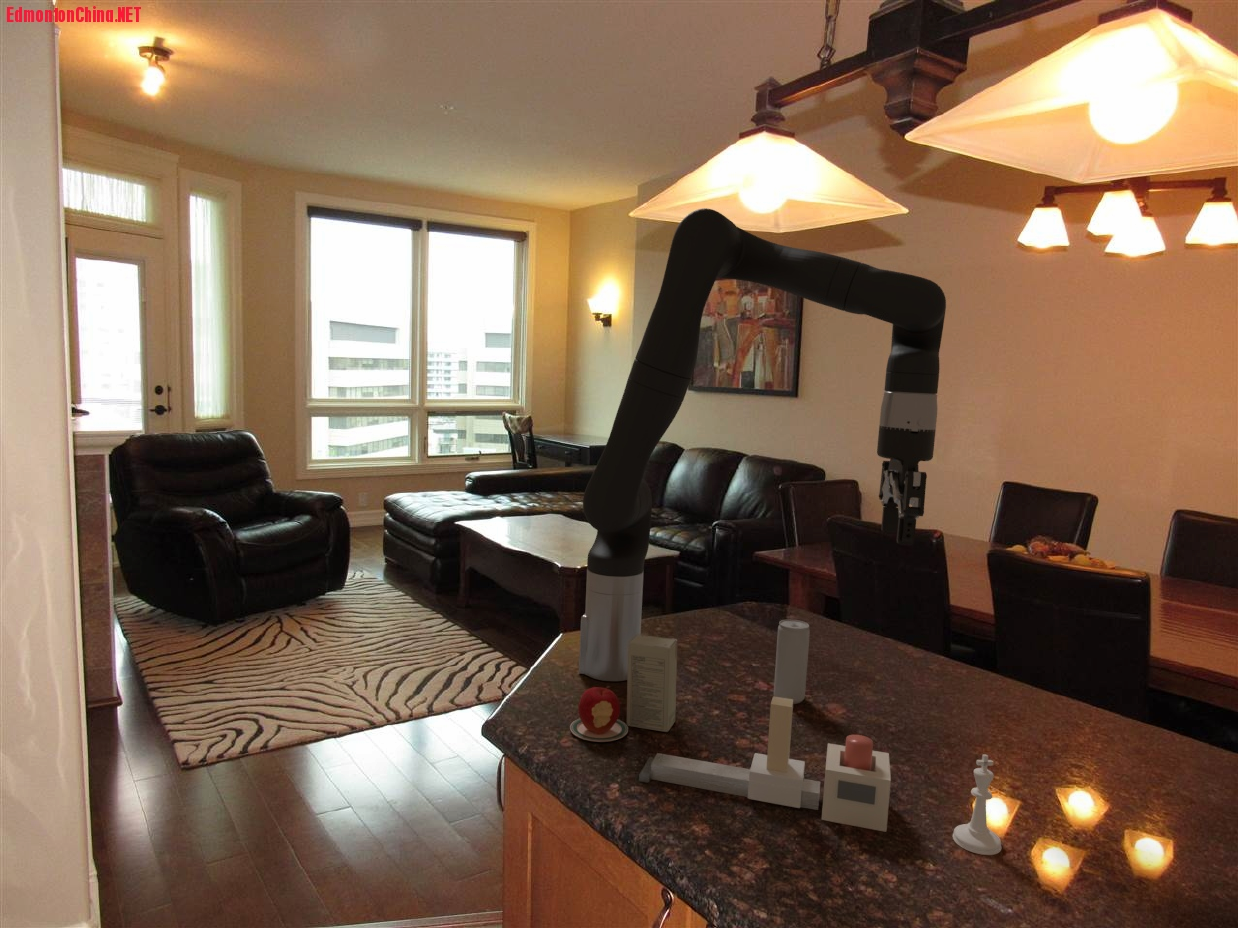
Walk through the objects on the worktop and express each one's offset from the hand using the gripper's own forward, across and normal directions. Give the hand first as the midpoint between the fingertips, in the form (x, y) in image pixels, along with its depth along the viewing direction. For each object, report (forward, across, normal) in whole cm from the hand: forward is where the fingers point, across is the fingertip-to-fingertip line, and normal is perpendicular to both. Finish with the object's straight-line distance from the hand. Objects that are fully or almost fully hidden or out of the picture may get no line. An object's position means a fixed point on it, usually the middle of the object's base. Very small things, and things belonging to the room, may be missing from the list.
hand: (896, 538), depth 117 cm
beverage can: (+28, -7, -12) cm, 31 cm away
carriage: (+28, +24, -18) cm, 41 cm away
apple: (+28, +10, -40) cm, 50 cm away
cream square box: (+28, +26, -9) cm, 39 cm away
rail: (+28, +23, -23) cm, 42 cm away
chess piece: (+28, +31, +3) cm, 41 cm away
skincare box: (+28, +6, -34) cm, 44 cm away
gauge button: (+24, +26, -9) cm, 36 cm away
